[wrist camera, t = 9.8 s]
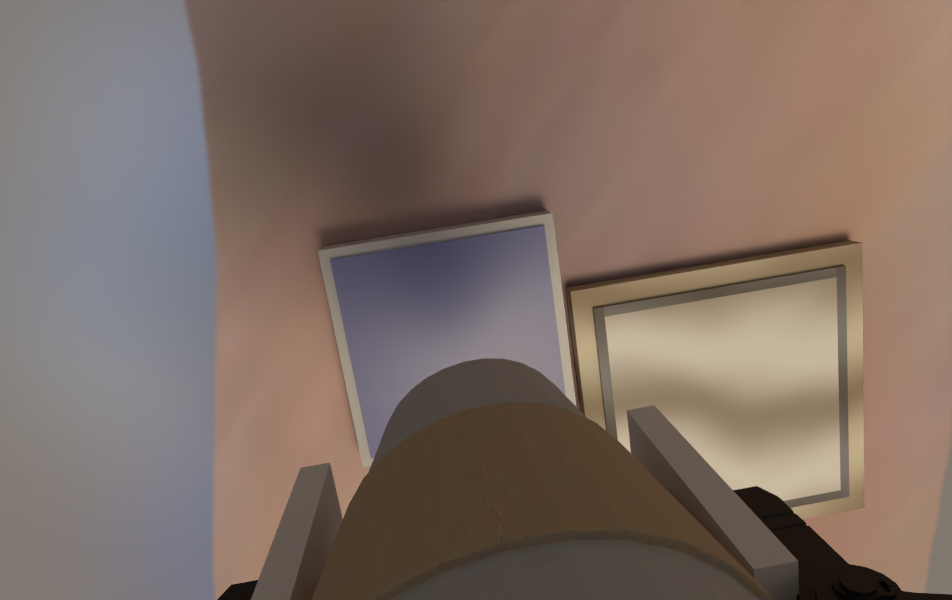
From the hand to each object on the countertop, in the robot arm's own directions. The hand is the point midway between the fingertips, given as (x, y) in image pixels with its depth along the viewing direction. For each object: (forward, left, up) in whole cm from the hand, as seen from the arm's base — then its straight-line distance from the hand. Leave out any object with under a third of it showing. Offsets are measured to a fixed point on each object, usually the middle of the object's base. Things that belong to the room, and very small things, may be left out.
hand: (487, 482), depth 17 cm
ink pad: (0, 0, -15) cm, 15 cm away
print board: (+6, +13, -15) cm, 21 cm away
